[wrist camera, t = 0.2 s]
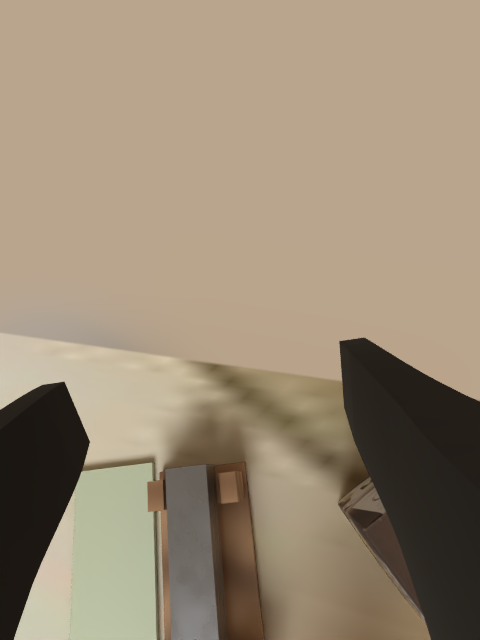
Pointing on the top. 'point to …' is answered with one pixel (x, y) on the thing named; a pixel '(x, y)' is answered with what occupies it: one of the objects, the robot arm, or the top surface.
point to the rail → (195, 555)
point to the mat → (114, 556)
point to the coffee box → (379, 537)
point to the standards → (223, 551)
